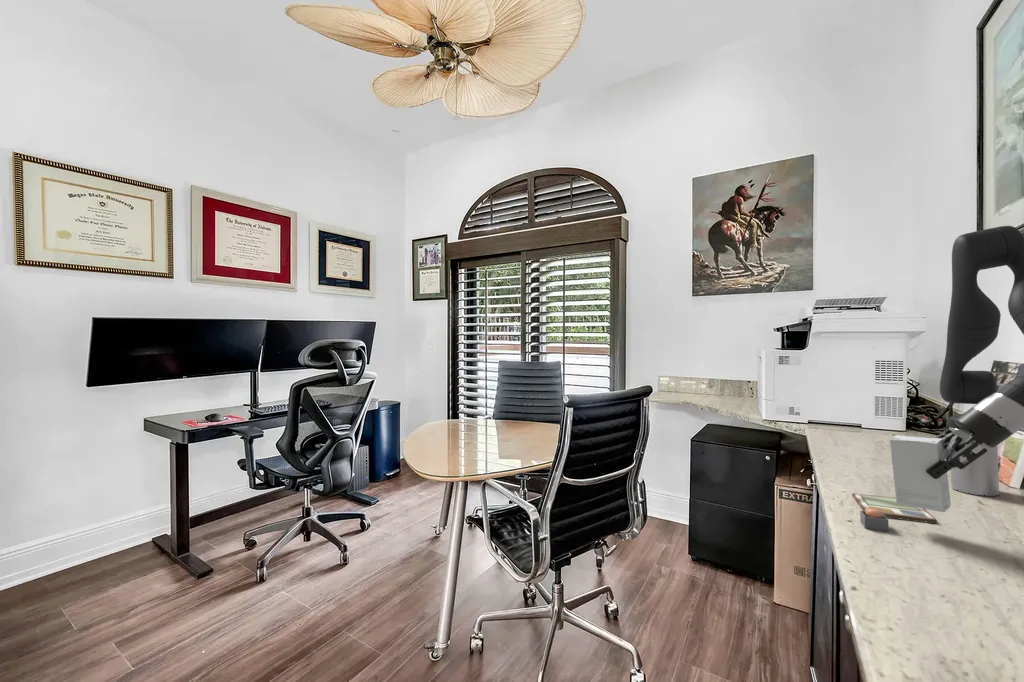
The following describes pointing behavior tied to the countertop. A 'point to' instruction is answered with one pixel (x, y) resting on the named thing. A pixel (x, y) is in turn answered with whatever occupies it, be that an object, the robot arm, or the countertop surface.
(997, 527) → the countertop surface
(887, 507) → the picture board
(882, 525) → the button housing
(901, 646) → the countertop surface
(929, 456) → the skincare box
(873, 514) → the button
